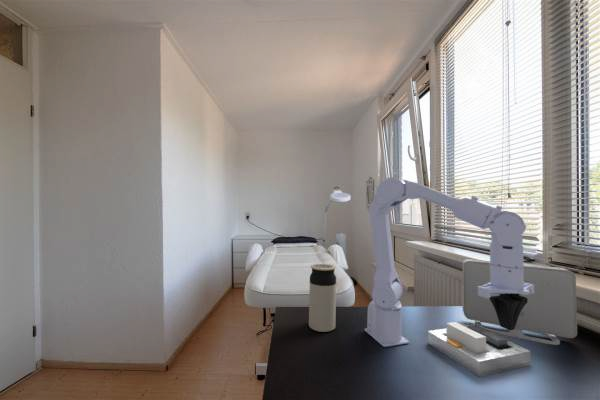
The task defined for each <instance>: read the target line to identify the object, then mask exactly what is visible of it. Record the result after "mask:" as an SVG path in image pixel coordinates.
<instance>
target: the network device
mask: <svg viewBox="0 0 600 400" xmlns="http://www.w3.org/2000/svg"><path fill="white" fill-rule="evenodd" d="M461 265H462V266H461V267H462V271H461V272H462V275H461V277H462V278H461V279H462V282H461V283H462V285H461V286H462V289H461V290H462V313H463V316H464V318H466V319H467V320H471V321H474V323H475V325H478V326H480V327H482V328H484V329H486V330H489V331H491V332H493V333H495V334H497V335H503V336H507V337H512V338H519V339H521V340H522V339H523V340H527V341H532V342H538V343H542V344H547V345H553V346H554V345H555V346H559V345H561V340H560V339H559V338H558V337H562V338H568V339H573V338H576V337H577V335H578V314H577V313H578V310H577V309H578V306H577V305H578V304H577V276H576V274H575V273H574V272H573V271H571V270H568V269H566V268H564V267H557V266H547V265H545V266H544V265H533V264H526V263H525V264H524V267H523V268H524V282H525V283H529V284H533V285H534V293H532V294H531V293H530V294H527V295H524V294H519V296H523V297H526V298H527V299H528V302H527V303H526V305H525V306H524V307H523V309H522V310H521V312H520V314H519V317H518V320H517V323H516V326H515V329H514V330H508V329H506V330H507V331H508V332H507V331H503V330H497V329H492V328H488V327H485V326H482V323H487V324H492V325H498V326H500V323H499V320H498V317H497V314H496V311H495V308H494V306H493V304H492V302H491V301H490V299H489V298H484V297H482V296H479V295H478V286H483V285H485V284H488V283H490V260H481V259H473V258H472V259H470V258H469V259H468V258H467V259H464V260H463V261H462V264H461ZM480 321H481V322H482V323H481V322H480ZM523 331H530V332H535V333H541V334H545V335H547V336H548V337H549V338H550V339H551V340H549V339H543V338H540V337H533V336H528V335H525V334H524V333H523Z"/></svg>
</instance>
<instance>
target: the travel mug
mask: <svg viewBox="0 0 600 400" xmlns="http://www.w3.org/2000/svg"><path fill="white" fill-rule="evenodd" d="M310 268H311V273H310V275H309V296H308V297H309V301H308V306H309V307H308V311H309V312H308V326H309V328H310V329H311V330H314V331H315V332H320V333H321V332H322V333H327V332H331V331H333V330H334V329H336V312H337V311H336V309H337V308H336V307H337V276H336V274H335V270H336V266H335V265H333V264H328V263H314V264H311V265H310Z"/></svg>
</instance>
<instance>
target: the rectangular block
mask: <svg viewBox="0 0 600 400" xmlns="http://www.w3.org/2000/svg"><path fill="white" fill-rule="evenodd" d="M465 326H466V325H463V324H461V323H460V322H459V323H458V322H456V321H454V322H446V337H447V338H449V339H452V340H454V341H456V342H458V343H459V344H461V345H463V347H465V348H467V349H468V350H470V351H472V352H474V353H475V354H482V353H486V337H485V336H483V335H481V334H479V333H477V332H475V331H473V330H471V329H469V328H467V327H465Z"/></svg>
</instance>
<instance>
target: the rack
mask: <svg viewBox="0 0 600 400" xmlns="http://www.w3.org/2000/svg"><path fill="white" fill-rule="evenodd" d="M464 326H465V327H467V328H469V329H471V330H473V331H475V332H477V333H479V334H481V335H483V336H485V337H486V353H482V354H475V353H474V352H472V351H470V350H468V349H467V348H465V347H463V345H461V344H459V343H458V342H456V341H454V340H452V339H449V338H447V337H446V328H439V329H434V330H433V329H432V330H427V344H428V345H430V346H431V347H433V348H434V349H436V350H438V352H440V353H443V354H444V355H445V356H446V357H448V358H449V359H451V360H453V361H454V362H456V363H457V364H459V365H460V366H462V367H463V368H465V369H466V370H469V371H470V373H472V374H475V375H476V376H477V377H479V378H480V377H485V376H490V375H495V374H499V373H502V372H507V371H511V370H515V369H520V368H525V367H530V366H531V365H532V364H531V363H532V361H531V360H532V358H531V357H532V356H531V350H529V349H527V348H524V346H523V347H522V346H521V345H518V344H517V343H514V342H512V341H509V340H508V338H506V337H503V336H501V335H500V334H497V333H493V332H491V331H489V330H486V329H484V328H485V327H484V328H482V327H480V326H478V325H476V324H467V325H464Z"/></svg>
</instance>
